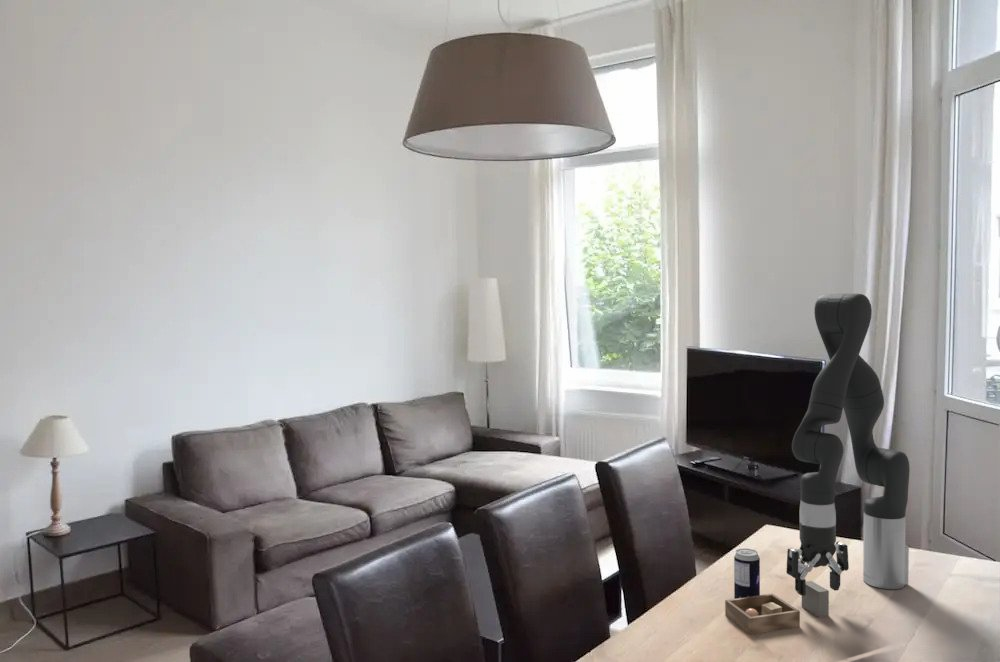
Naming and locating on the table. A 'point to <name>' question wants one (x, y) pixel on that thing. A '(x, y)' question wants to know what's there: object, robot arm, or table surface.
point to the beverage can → (746, 573)
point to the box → (762, 622)
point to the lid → (816, 599)
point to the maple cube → (771, 608)
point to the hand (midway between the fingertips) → (817, 591)
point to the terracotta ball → (752, 612)
